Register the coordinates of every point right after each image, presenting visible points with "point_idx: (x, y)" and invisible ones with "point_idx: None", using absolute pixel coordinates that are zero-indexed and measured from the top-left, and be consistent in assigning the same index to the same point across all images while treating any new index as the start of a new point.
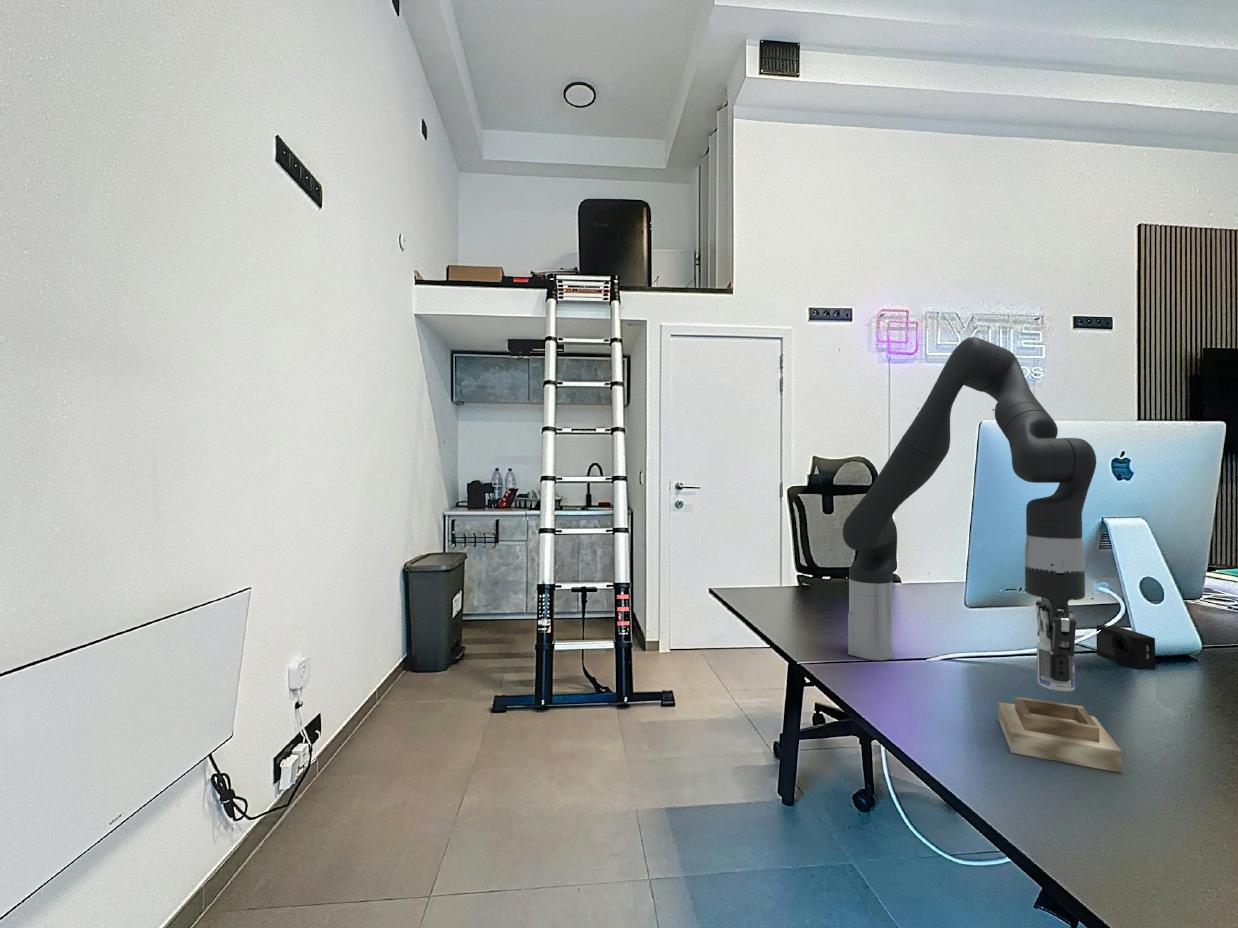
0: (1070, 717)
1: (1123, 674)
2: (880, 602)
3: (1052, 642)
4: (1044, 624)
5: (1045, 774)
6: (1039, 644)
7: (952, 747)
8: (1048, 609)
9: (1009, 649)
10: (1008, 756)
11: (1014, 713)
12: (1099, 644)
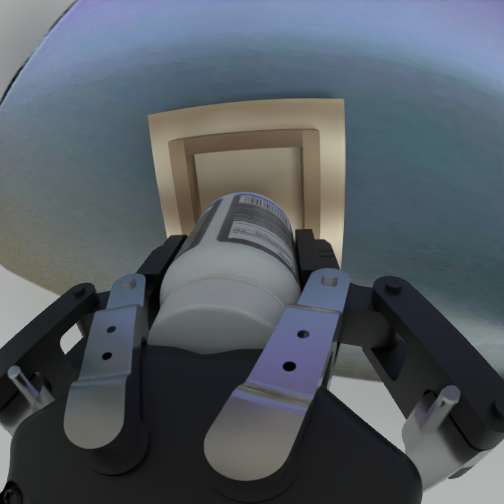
0: None
1: None
2: None
3: (68, 311)
4: (94, 355)
5: (111, 162)
6: (203, 258)
7: (132, 32)
8: (85, 461)
9: None
10: (144, 110)
11: (276, 123)
12: None
